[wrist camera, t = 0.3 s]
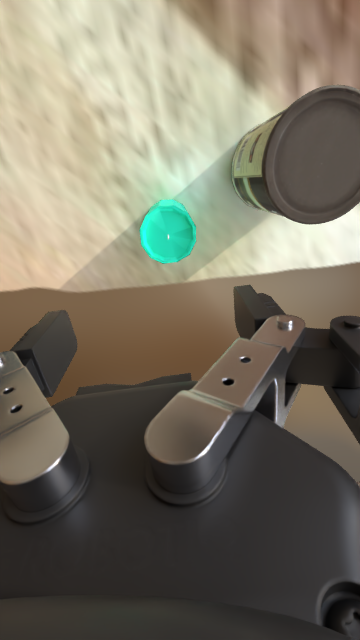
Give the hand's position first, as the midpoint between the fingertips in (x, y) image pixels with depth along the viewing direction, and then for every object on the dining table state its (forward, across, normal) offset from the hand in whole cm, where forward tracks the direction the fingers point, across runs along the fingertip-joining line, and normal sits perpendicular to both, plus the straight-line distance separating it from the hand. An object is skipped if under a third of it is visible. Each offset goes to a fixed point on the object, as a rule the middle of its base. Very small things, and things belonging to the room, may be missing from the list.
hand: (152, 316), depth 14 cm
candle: (+29, -1, 0) cm, 29 cm away
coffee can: (+29, -15, -5) cm, 33 cm away
